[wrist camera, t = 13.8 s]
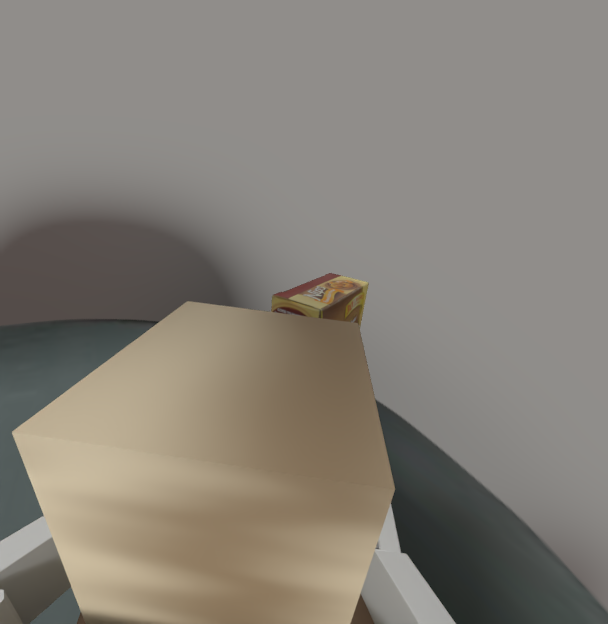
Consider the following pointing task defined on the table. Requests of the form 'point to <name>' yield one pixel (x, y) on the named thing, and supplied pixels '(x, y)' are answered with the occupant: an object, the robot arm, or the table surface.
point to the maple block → (217, 472)
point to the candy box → (324, 299)
